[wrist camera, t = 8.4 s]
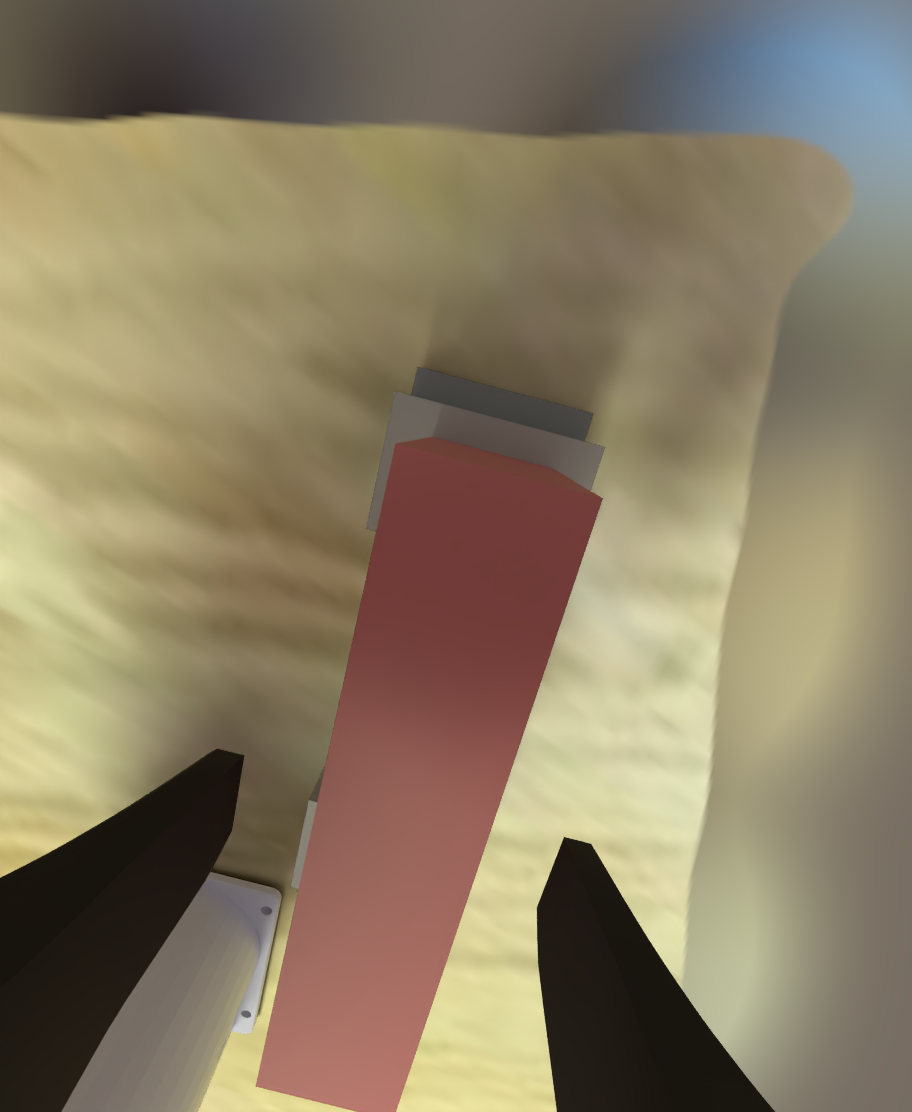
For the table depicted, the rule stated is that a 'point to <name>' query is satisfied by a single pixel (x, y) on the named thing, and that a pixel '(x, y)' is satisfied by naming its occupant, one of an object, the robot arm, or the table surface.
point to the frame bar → (419, 758)
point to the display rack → (483, 425)
